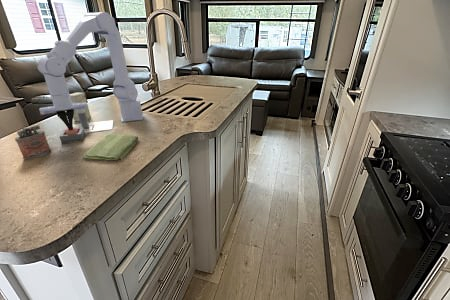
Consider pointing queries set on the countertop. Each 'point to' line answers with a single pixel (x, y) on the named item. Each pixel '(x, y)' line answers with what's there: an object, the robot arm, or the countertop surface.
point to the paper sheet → (97, 126)
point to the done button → (71, 131)
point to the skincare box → (79, 98)
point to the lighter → (32, 143)
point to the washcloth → (112, 147)
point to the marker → (83, 118)
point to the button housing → (72, 136)
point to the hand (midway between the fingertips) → (71, 129)
